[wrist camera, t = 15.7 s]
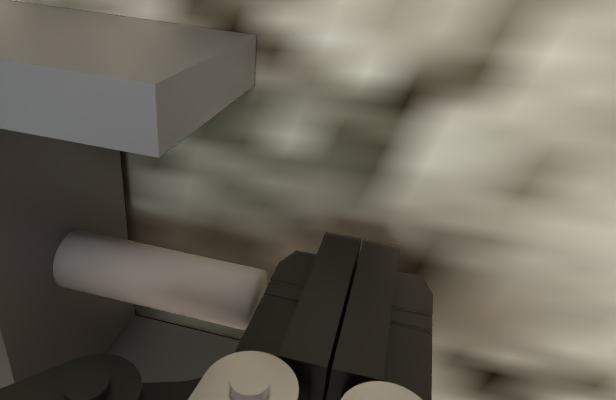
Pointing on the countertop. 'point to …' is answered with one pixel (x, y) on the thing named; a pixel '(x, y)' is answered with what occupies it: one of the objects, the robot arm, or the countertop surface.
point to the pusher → (90, 260)
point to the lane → (124, 118)
